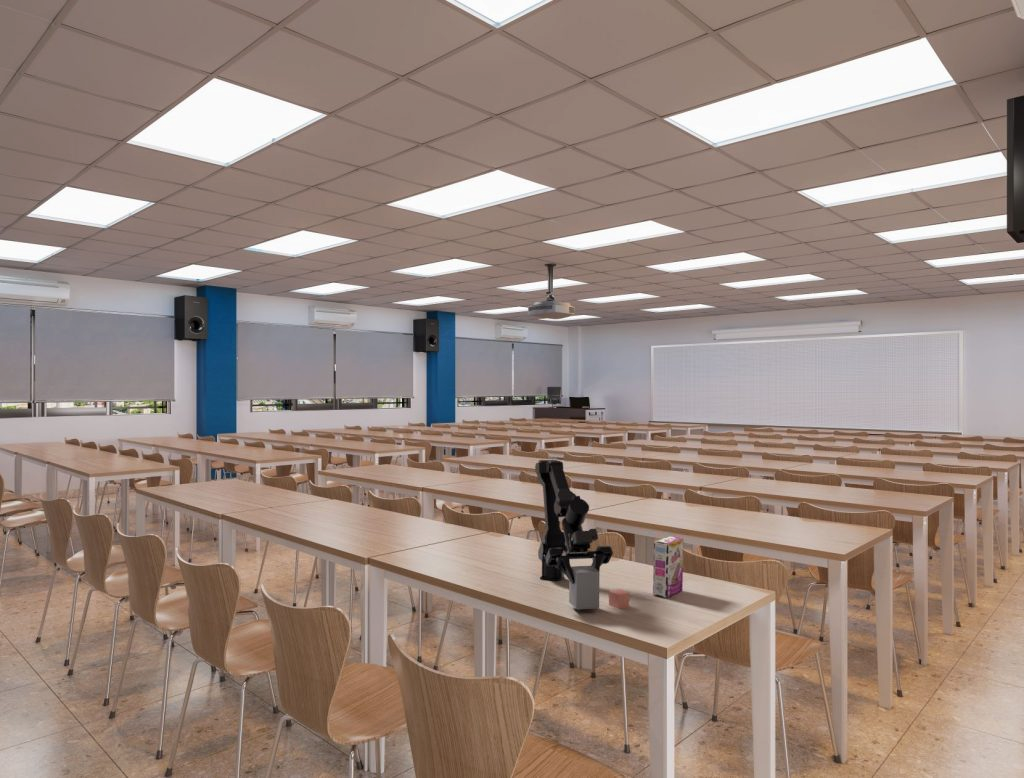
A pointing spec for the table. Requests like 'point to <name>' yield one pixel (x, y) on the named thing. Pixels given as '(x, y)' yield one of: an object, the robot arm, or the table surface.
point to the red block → (618, 599)
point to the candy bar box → (668, 566)
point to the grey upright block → (584, 587)
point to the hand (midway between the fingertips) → (585, 582)
